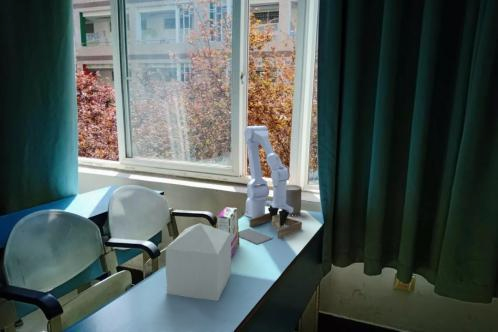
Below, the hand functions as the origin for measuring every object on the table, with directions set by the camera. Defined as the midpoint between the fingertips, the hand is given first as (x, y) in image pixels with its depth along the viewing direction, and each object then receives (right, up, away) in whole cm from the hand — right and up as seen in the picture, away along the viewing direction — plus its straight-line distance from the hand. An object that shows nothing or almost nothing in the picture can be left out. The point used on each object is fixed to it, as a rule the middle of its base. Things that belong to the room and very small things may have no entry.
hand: (278, 223), depth 158 cm
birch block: (0, -1, 0) cm, 1 cm away
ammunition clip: (-22, -5, -17) cm, 28 cm away
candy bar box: (-21, -7, -27) cm, 35 cm away
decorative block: (-29, -11, -48) cm, 57 cm away
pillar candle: (+8, +2, +19) cm, 21 cm away
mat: (-12, -3, -11) cm, 17 cm away
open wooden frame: (-1, -2, -1) cm, 2 cm away
